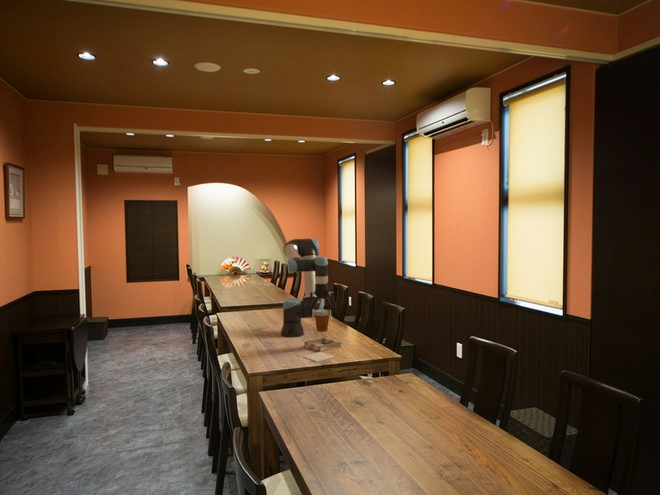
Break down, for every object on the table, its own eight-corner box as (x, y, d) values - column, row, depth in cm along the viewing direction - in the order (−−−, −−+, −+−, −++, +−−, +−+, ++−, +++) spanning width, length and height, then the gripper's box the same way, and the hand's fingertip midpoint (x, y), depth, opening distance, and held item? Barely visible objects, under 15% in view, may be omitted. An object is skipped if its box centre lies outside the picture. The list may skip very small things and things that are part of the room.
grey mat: (302, 356, 258) (302, 356, 258) (320, 352, 266) (320, 351, 266) (317, 362, 248) (317, 361, 248) (335, 357, 256) (335, 356, 256)
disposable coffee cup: (328, 333, 272) (328, 312, 271) (312, 332, 274) (312, 312, 273) (331, 329, 282) (331, 309, 281) (316, 328, 283) (315, 308, 283)
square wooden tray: (304, 346, 279) (304, 341, 279) (324, 342, 289) (324, 337, 289) (320, 351, 267) (320, 346, 267) (340, 346, 277) (340, 341, 277)
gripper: (302, 284, 273) (302, 321, 274) (339, 283, 271) (340, 322, 273) (303, 282, 280) (304, 319, 282) (340, 282, 279) (341, 319, 280)
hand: (322, 320), depth 277 cm, fingers closed on disposable coffee cup, 9 cm apart
